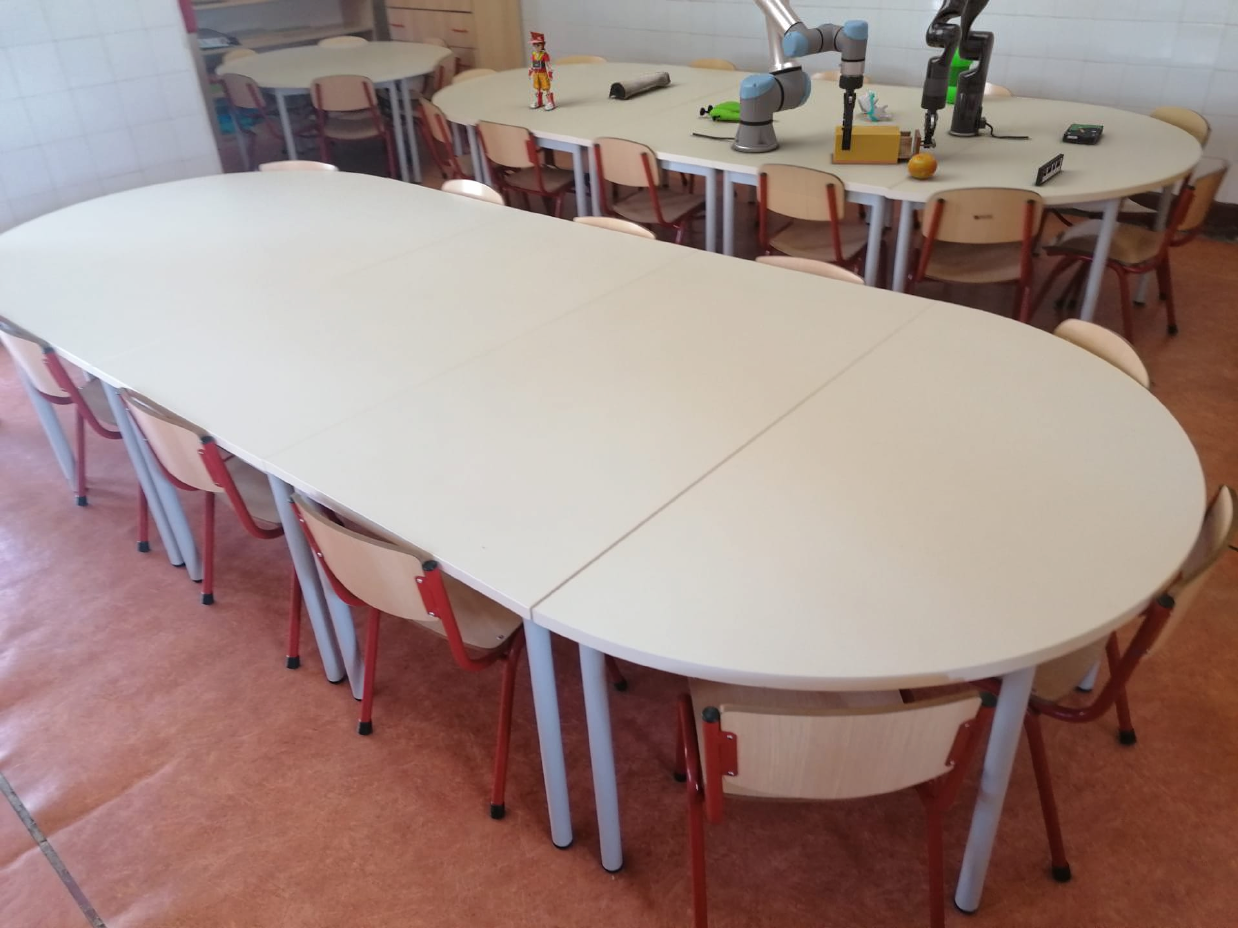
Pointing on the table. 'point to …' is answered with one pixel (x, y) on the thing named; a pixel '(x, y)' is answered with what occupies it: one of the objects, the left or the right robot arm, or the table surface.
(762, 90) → the left robot arm
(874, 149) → the cabinet
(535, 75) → the toy
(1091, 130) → the disk drive
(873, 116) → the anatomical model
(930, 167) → the fruit
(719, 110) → the toy
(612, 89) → the rolled mat
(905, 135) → the drawer
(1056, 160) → the midi keyboard
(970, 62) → the plastic bottle
